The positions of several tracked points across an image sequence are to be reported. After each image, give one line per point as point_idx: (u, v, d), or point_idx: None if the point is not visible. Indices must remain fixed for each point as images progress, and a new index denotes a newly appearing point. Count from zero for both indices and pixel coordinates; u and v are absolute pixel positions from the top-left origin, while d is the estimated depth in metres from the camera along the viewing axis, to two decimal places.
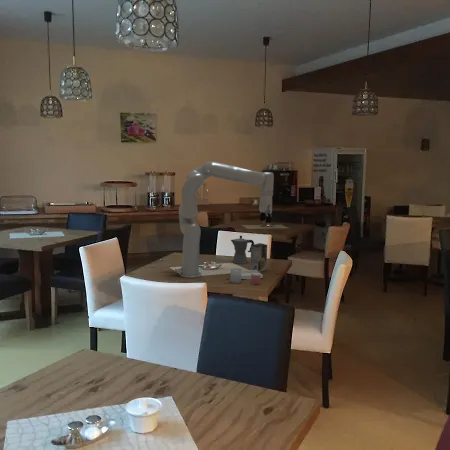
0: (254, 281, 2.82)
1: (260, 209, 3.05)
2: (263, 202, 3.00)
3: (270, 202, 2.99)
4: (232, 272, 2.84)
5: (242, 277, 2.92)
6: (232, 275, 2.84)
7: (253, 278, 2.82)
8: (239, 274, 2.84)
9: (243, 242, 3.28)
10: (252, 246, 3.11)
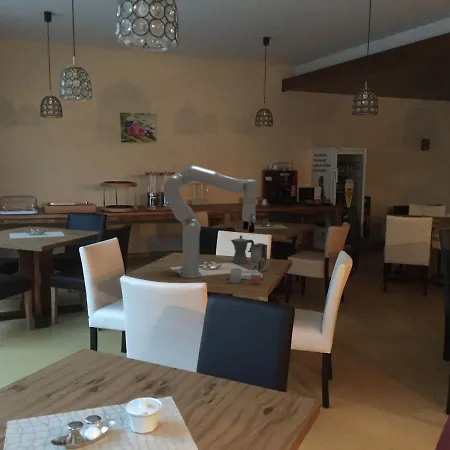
0: (254, 281, 2.82)
1: (243, 218, 2.93)
2: (246, 211, 2.88)
3: (253, 211, 2.87)
4: (232, 272, 2.84)
5: (242, 277, 2.92)
6: (232, 275, 2.84)
7: (253, 278, 2.82)
8: (239, 274, 2.84)
9: (243, 242, 3.28)
10: (252, 246, 3.11)
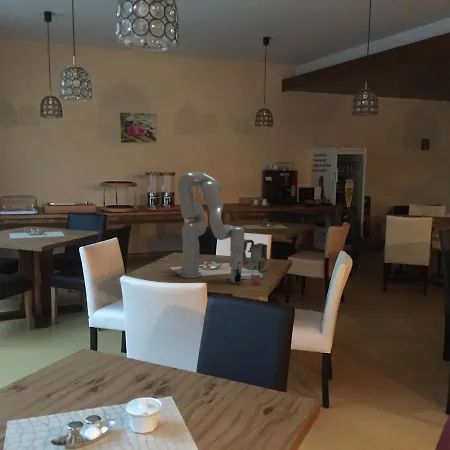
0: (254, 281, 2.82)
1: (230, 265, 2.86)
2: (233, 259, 2.81)
3: (240, 259, 2.80)
4: (232, 272, 2.84)
5: (242, 277, 2.92)
6: (232, 275, 2.84)
7: (253, 278, 2.82)
8: None
9: None
10: (252, 246, 3.11)
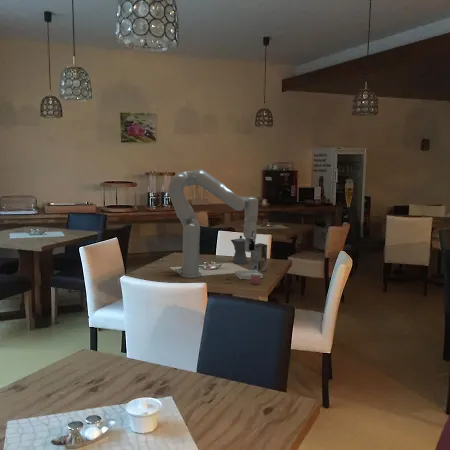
0: (254, 281, 2.82)
1: (244, 235, 2.96)
2: (247, 228, 2.92)
3: (254, 228, 2.90)
4: (246, 241, 2.94)
5: (242, 277, 2.92)
6: (246, 244, 2.94)
7: (253, 278, 2.82)
8: None
9: (243, 242, 3.28)
10: None
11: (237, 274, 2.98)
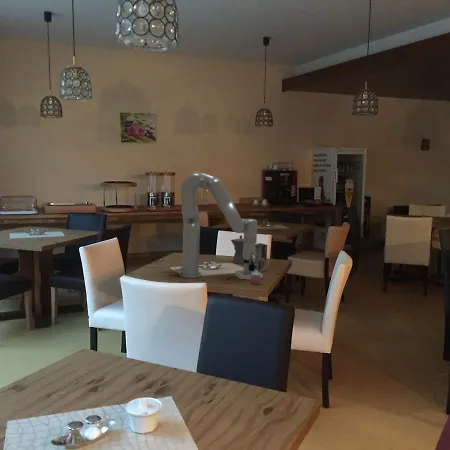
0: (254, 281, 2.82)
1: (243, 256, 2.98)
2: (246, 250, 2.94)
3: (253, 250, 2.92)
4: (245, 266, 2.96)
5: (242, 277, 2.92)
6: (245, 269, 2.96)
7: (253, 278, 2.82)
8: None
9: (243, 242, 3.28)
10: None
11: (237, 274, 2.98)
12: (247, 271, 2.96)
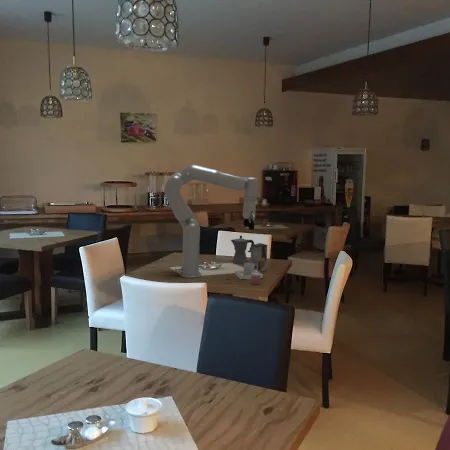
0: (254, 281, 2.82)
1: (243, 215, 2.96)
2: (246, 208, 2.91)
3: (253, 208, 2.90)
4: (245, 266, 2.96)
5: (242, 277, 2.92)
6: (245, 269, 2.96)
7: (253, 278, 2.82)
8: (252, 268, 2.96)
9: (243, 242, 3.28)
10: (252, 246, 3.11)
11: (237, 274, 2.98)
12: (247, 271, 2.96)
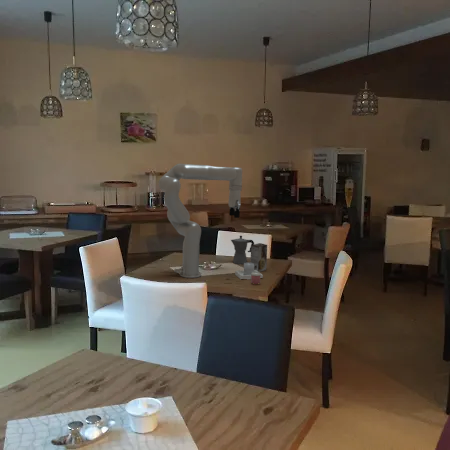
0: (254, 281, 2.82)
1: (229, 204, 3.08)
2: (232, 197, 3.03)
3: (238, 197, 3.02)
4: (245, 266, 2.96)
5: (242, 277, 2.92)
6: (245, 268, 2.96)
7: (253, 278, 2.82)
8: (252, 268, 2.96)
9: (243, 242, 3.28)
10: (252, 246, 3.11)
11: (237, 274, 2.98)
12: (247, 271, 2.96)
